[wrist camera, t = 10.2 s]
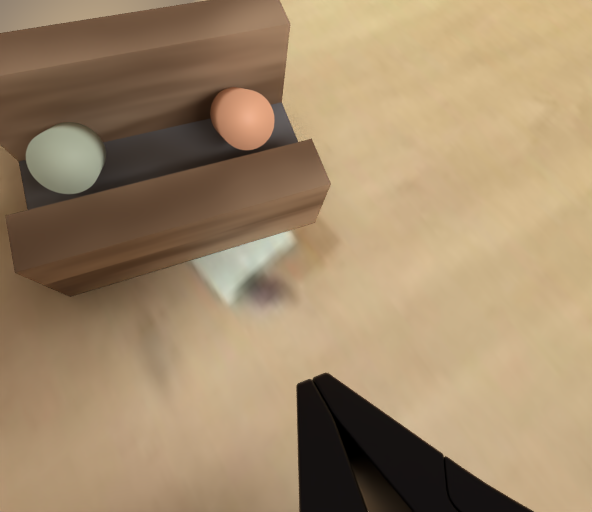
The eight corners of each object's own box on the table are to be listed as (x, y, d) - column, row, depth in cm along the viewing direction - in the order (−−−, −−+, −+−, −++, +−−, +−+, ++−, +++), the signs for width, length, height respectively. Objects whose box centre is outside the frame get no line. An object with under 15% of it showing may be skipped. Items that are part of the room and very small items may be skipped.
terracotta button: (276, 163, 22) (282, 117, 18) (228, 176, 22) (223, 131, 18) (254, 107, 24) (255, 52, 20) (208, 117, 23) (198, 62, 19)
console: (314, 222, 26) (345, 146, 17) (70, 296, 22) (-42, 247, 14) (267, 106, 28) (274, -11, 20) (41, 157, 25) (-68, 43, 16)
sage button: (123, 203, 21) (92, 162, 17) (66, 218, 20) (19, 179, 16) (107, 140, 22) (74, 86, 18) (52, 152, 21) (5, 100, 17)
